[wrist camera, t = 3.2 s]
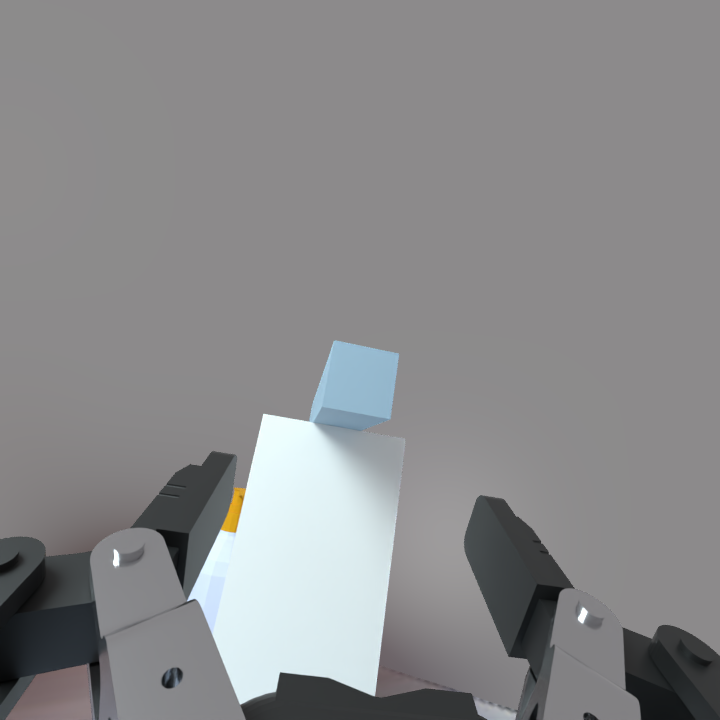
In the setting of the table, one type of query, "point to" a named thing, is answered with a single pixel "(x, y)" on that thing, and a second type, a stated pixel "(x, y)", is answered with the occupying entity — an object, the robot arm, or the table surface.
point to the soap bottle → (218, 563)
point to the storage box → (310, 557)
